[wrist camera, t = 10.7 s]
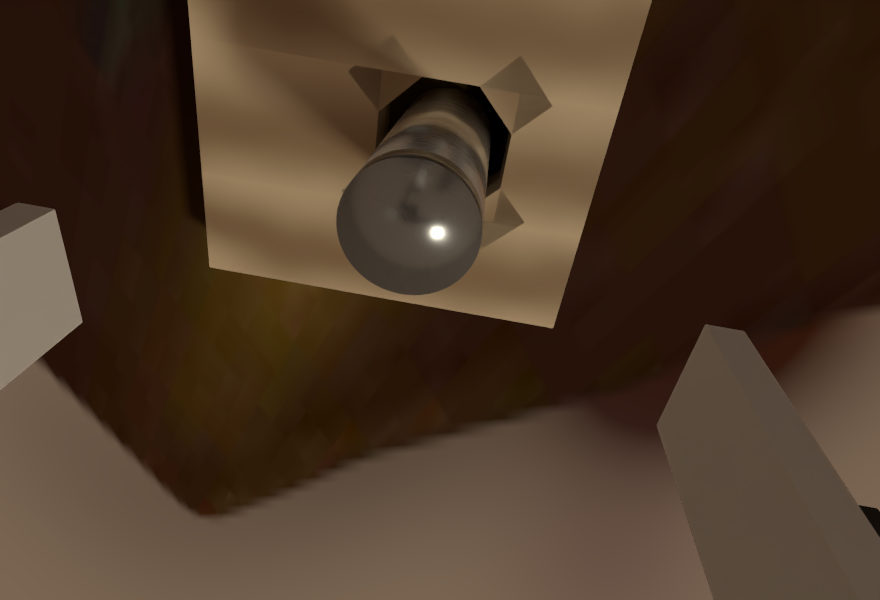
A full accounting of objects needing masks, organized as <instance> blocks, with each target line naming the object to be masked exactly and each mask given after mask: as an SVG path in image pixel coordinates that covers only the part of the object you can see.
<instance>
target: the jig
mask: <svg viewBox="0 0 880 600" xmlns="http://www.w3.org/2000/svg"><path fill="white" fill-rule="evenodd" d="M651 1H652V0H188V10H189V23H190V35H191V47H192V59H193V71H194V83H195V96H196V108H197V120H198V132H199V144H200V156H201V169H202V181H203V193H204V205H205V217H206V229H207V242H208V254H209V266H210V267H211V268H217V269H222V270H228V271H234V272H239V273H245V274H251V275H256V276H262V277H267V278H273V279H279V280H284V281H290V282H296V283H301V284H307V285H312V286H318V287H324V288H329V289H335V290H340V291H346V292H352V293H357V294H363V295H369V296H374V297H380V298H385V299H391V300H397V301H402V302H408V303H414V304H419V305H425V306H430V307H436V308H442V309H447V310H453V311H459V312H464V313H470V314H475V315H481V316H487V317H492V318H498V319H504V320H509V321H515V322H520V323H526V324H532V325H537V326H543V327H549V328H553V327H554V323H555V320H556V317H557V313H558V310H559V307H560V303H561V300H562V297H563V293H564V290H565V287H566V283H567V280H568V277H569V273H570V270H571V267H572V264H573V260H574V257H575V254H576V250H577V247H578V244H579V240H580V237H581V234H582V230H583V227H584V224H585V220H586V217H587V214H588V210H589V207H590V204H591V200H592V197H593V194H594V191H595V187H596V184H597V181H598V177H599V174H600V171H601V167H602V164H603V161H604V157H605V154H606V151H607V147H608V144H609V141H610V137H611V134H612V131H613V127H614V124H615V121H616V118H617V114H618V111H619V108H620V104H621V101H622V98H623V94H624V91H625V88H626V84H627V81H628V78H629V74H630V71H631V68H632V64H633V61H634V58H635V54H636V51H637V48H638V45H639V41H640V38H641V35H642V31H643V28H644V25H645V21H646V18H647V15H648V11H649V8H650V5H651ZM421 77H427V78H433V79H439V80H445V81H451V82H456V83H462V84H468V85H474V86H480V88H481V89H482V91H483V92H484V94H485V95H486V97H487V98H488V100H489V101H490V103H491V104H492V106H493V107H494V109H495V110H496V112H497V113H498V115H499V116H500V118H501V119H502V121H503V122H504V124H505V125H506V127H507V128H508V130H509V132H508V137H507V141H506V146H505V151H504V156H503V161H502V166H501V169H500V170H498V171H497V172H495V173H494V174H492V175H491V176H489V177H488V178H487V187H486V198H485V208H484V219H483V230H482V239H481V245H480V249H479V253H478V255H477V257H476V259H475V261H474V263H473V265H472V266H471V268H470V269H469V270H468V271H467V273H466V274H465V275H464V276H463V277H462V278H461V279H459V280H458V281H457V282H455V283H454V284H453V285H451V286H449V287H447V288H445V289H443V290H440V291H438V292H434V293H430V294H424V295H404V294H398V293H394V292H391V291H388V290H385V289H382V288H380V287H378V286H376V285H374V284H373V283H371V282H370V281H368V280H367V279H366V278H364V277H363V276H362V275H361V274H360V273H359V272H358V271H357V270H356V269H355V268H354V267H353V266H352V265H351V263H350V262H349V261H348V259H347V257H346V256H345V254H344V252H343V250H342V248H341V245H340V242H339V239H338V235H337V228H336V216H337V209H338V205H339V201H340V199H341V197H342V194H343V192H344V191H345V189H346V188H347V186H348V184H349V183H350V182H351V181H352V179H353V178H354V177H355V175H356V174H357V173H358V172H359V170H360V169H361V168H362V166H363V165H364V164H365V163H366V161H367V160H368V159H369V157H370V156H371V155H372V154H373V152H374V151H375V150H376V148H377V147H378V146H379V145H380V143H381V142H382V141H383V139H384V138H385V137H386V136H387V134H388V126H389V115H390V104H391V101H392V100H394V99H395V98H396V97H397V96H399V95H400V94H401V93H402V92H404V91H405V90H406V89H407V88H409V87H410V86H411V85H412V84H414V83H415V82H416V81H417V80H419V79H420V78H421Z"/></svg>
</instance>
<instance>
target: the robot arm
mask: <svg viewBox="0 0 880 600" xmlns="http://www.w3.org/2000/svg"><path fill="white" fill-rule="evenodd" d="M81 323H82V318H81V314H80V310H79V306H78V302H77V298H76V293H75V289H74V285H73V281H72V277H71V273H70V269H69V265H68V261H67V257H66V253H65V249H64V245H63V241H62V236H61V232H60V228H59V224H58V220H57V216H56V212H55V209H51V208H45V207H39V206H34V205H28V204H22V203H16V204H14V205H12V206H9V207H7V208H5V209H3V210H1V211H0V390H1V389H2V388H3V387H5V386H6V385H7V384H8V383H9V382H11V381H12V380H13V379H14V378H15V377H17V376H18V375H19V374H20V373H22V372H23V371H24V370H25V369H26V368H27V367H29V366H30V365H31V364H32V363H34V362H35V361H36V360H37V359H38V358H40V357H41V356H42V355H43V354H45V353H46V352H47V351H48V350H49V349H51V348H52V347H53V346H54V345H55V344H57V343H58V342H59V341H60V340H61V339H63V338H64V337H65V336H66V335H67V334H69V333H70V332H71V331H72V330H74V329H75V328H76V327H77V326H78V325H80V324H81ZM657 428H658V431H659V435H660V438H661V441H662V443H663V447H664V450H665V453H666V456H667V459H668V462H669V465H670V468H671V471H672V474H673V477H674V480H675V483H676V486H677V489H678V493H679V496H680V499H681V501H682V505H683V507H684V511H685V514H686V517H687V520H688V523H689V526H690V529H691V532H692V535H693V538H694V541H695V544H696V547H697V550H698V554H699V557H700V559H701V563H702V566H703V569H704V572H705V575H706V578H707V581H708V584H709V587H710V590H711V593H712V596H713V599H714V600H880V511H879V510H878V509H877V508H871V507H866V506H860V505H858V504H857V502H856V501H855V499H854V498H853V496H852V495H851V493H850V492H849V491H848V489H847V487H846V486H845V484H844V483H843V481H842V480H841V478H840V477H839V475H838V473H837V472H836V470H835V469H834V467H833V466H832V465H831V463H830V461H829V460H828V458H827V457H826V455H825V454H824V452H823V451H822V449H821V448H820V446H819V444H818V443H817V442H816V440H815V438H814V437H813V435H812V434H811V432H810V431H809V429H808V428H807V426H806V425H805V423H804V422H803V420H802V419H801V417H800V416H799V414H798V412H797V411H796V410H795V408H794V406H793V405H792V403H791V402H790V400H789V399H788V398H787V396H786V394H785V393H784V392H783V390H782V388H781V387H780V385H779V384H778V382H777V381H776V379H775V377H774V376H773V374H772V373H771V371H770V370H769V368H768V367H767V365H766V364H765V362H764V361H763V359H762V358H761V356H760V355H759V353H758V352H757V350H756V349H755V347H754V345H753V344H752V342H751V341H750V339H749V338H748V336H747V335H746V333H745V332H744V331H740V330H734V329H729V328H723V327H717V326H712V325H706V324H705V326H704V328H703V330H702V332H701V335H700V337H699V339H698V341H697V343H696V345H695V347H694V349H693V351H692V353H691V355H690V357H689V359H688V361H687V363H686V366H685V368H684V370H683V372H682V374H681V376H680V378H679V380H678V382H677V384H676V386H675V388H674V390H673V393H672V395H671V397H670V399H669V401H668V403H667V405H666V407H665V409H664V411H663V413H662V415H661V417H660V419H659V422H658V424H657Z"/></svg>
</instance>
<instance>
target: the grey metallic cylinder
mask: <svg viewBox="0 0 880 600" xmlns="http://www.w3.org/2000/svg"><path fill="white" fill-rule="evenodd" d="M490 145H491V125H490V121H489V118H488V115H487V113H486V111H485V109H484V108H483V106H482V105H481V104H480V102H479V101H478V100H477V99H476V98H474V97H473V96H472V95H470V94H469V93H467V92H465V91H463V90H460V89H457V88H452V87H439V88H434V89H431V90H428V91H426V92H424V93H423V94H421V95H420V96H418V97H417V98H416V99H415V100H414V101H413V102H412V103H411V105H410V106H409V107H408V108H407V110H406V111H405V112H404V114H403V115H402V116H401V118H400V119H399V120H398V121H397V123H396V124H395V125H394V127H393V128H392V129H391V130H390V132H389V133H388V134H387V136H386V137H385V138H384V139H383V141H382V142H381V143H380V145H379V146H378V147H377V148H376V150H375V151H374V152H373V154H372V155H371V156H370V157H369V159H368V160H367V161H366V163H365V164H364V165H363V166H362V168H361V169H360V170H359V172H358V173H357V174H356V175H355V177H354V178H353V179H352V181H351V182H350V183H349V184H348V186H347V188H346V189H345V191H344V192H343V194H342V197H341V199H340V201H339V205H338V209H337V216H336V228H337V235H338V239H339V242H340V245H341V248H342V250H343V252H344V254H345V256H346V257H347V259H348V261H349V262H350V263H351V265H352V266H353V267H354V268H355V269H356V270H357V271H358V272H359V273H360V274H361V275H362V276H363V277H364V278H366V279H367V280H368V281H370V282H371V283H373V284H374V285H376V286H378V287H380V288H382V289H385V290H388V291H391V292H394V293H398V294H404V295H424V294H430V293H434V292H438V291H440V290H443V289H445V288H447V287H449V286H451V285H453V284H454V283H455V282H457V281H458V280H459V279H461V278H462V277H463V276H464V275H465V274H466V273H467V271H468V270H469V269H470V268H471V266H472V265H473V263H474V261H475V259H476V257H477V255H478V253H479V249H480V245H481V239H482V230H483V219H484V208H485V198H486V187H487V177H488V166H489V155H490Z"/></svg>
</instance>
